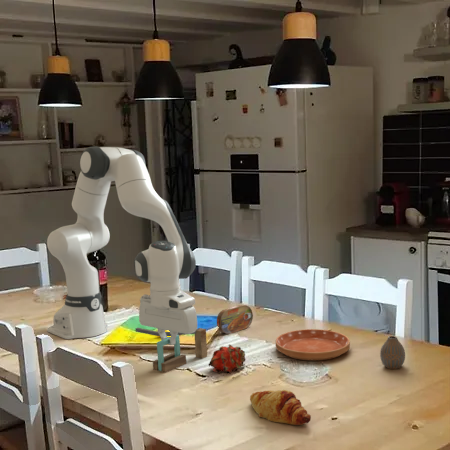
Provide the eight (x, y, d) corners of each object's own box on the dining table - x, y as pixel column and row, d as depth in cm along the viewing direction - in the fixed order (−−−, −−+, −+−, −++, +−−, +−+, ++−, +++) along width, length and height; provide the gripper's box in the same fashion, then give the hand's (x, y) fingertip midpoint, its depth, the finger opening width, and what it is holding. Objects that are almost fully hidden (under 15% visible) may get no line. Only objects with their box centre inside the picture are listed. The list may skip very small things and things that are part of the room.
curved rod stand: (137, 358, 215) (135, 328, 214) (162, 347, 224) (161, 319, 223) (188, 370, 202) (186, 338, 201) (213, 358, 211) (211, 328, 210)
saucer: (364, 348, 215) (364, 336, 215) (321, 369, 199) (321, 356, 198) (305, 335, 231) (304, 325, 230) (260, 354, 214) (260, 342, 214)
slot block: (153, 372, 201) (152, 361, 201) (174, 363, 208) (173, 352, 208) (165, 376, 198) (165, 364, 198) (186, 366, 205) (185, 355, 205)
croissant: (243, 419, 175) (230, 396, 172) (268, 391, 180) (256, 369, 177) (302, 445, 159) (289, 420, 156) (328, 414, 164) (316, 389, 160)
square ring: (158, 370, 200) (156, 342, 199) (177, 361, 207) (176, 334, 206) (161, 371, 200) (159, 343, 198) (180, 362, 206) (179, 335, 205)
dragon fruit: (250, 373, 201) (213, 387, 197) (236, 351, 207) (200, 364, 202) (254, 356, 196) (216, 370, 191) (240, 334, 201) (203, 347, 196)
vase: (406, 363, 200) (406, 334, 198) (404, 371, 193) (403, 341, 192) (381, 361, 202) (381, 332, 201) (379, 370, 195) (378, 340, 194)
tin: (221, 336, 233) (220, 312, 232) (215, 334, 236) (214, 310, 235) (254, 326, 243) (253, 303, 242) (247, 325, 246) (246, 301, 244)
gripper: (132, 295, 204) (135, 341, 206) (184, 304, 192) (187, 352, 194) (147, 291, 209) (150, 335, 211) (199, 299, 197) (201, 346, 199)
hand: (168, 343), depth 202 cm, fingers closed on square ring, 1 cm apart
